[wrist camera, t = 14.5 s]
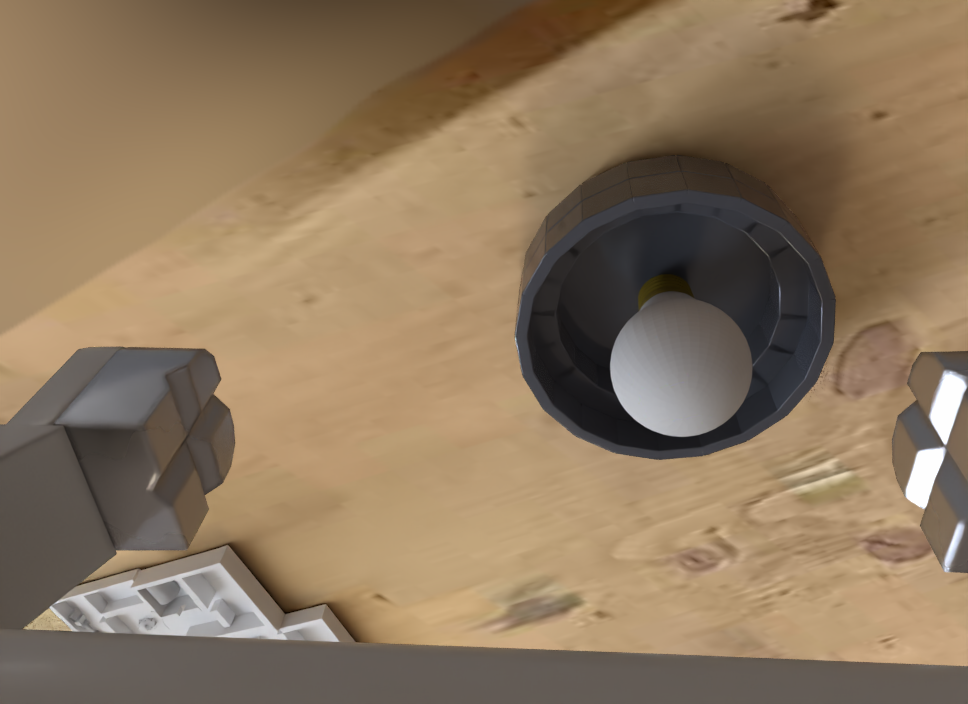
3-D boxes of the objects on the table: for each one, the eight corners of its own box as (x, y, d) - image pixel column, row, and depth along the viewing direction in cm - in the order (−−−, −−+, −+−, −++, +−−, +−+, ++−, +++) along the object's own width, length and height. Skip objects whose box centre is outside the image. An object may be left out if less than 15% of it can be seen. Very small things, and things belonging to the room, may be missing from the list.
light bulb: (746, 300, 40) (793, 423, 32) (645, 358, 42) (664, 486, 34) (683, 212, 38) (716, 319, 29) (580, 278, 40) (584, 394, 32)
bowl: (476, 336, 43) (466, 389, 39) (608, 98, 36) (614, 132, 32) (701, 437, 46) (715, 497, 41) (869, 232, 38) (906, 281, 34)
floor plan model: (471, 681, 60) (468, 705, 58) (200, 736, 67) (191, 759, 65) (349, 506, 51) (342, 528, 49) (53, 591, 58) (38, 613, 56)
